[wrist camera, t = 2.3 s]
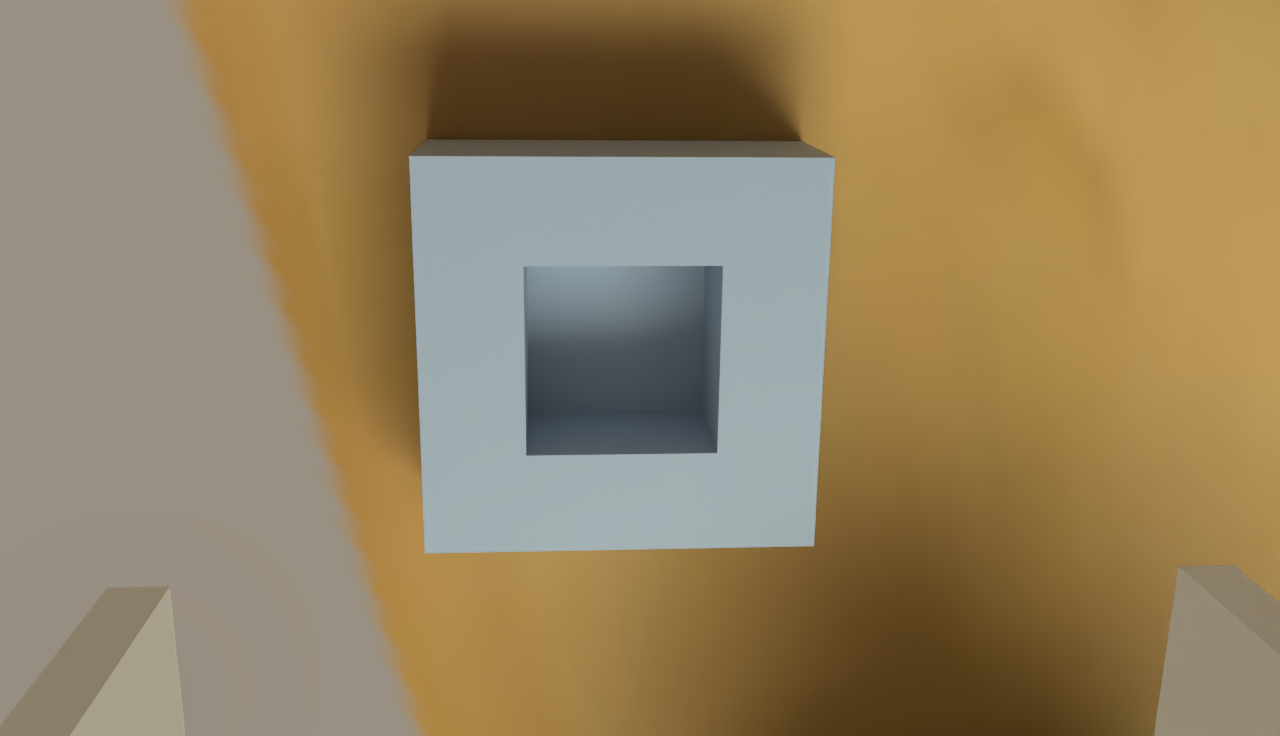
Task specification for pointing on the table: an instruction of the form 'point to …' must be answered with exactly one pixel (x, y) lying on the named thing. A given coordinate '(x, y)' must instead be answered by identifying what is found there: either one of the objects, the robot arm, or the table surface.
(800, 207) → the bore block
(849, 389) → the table surface
